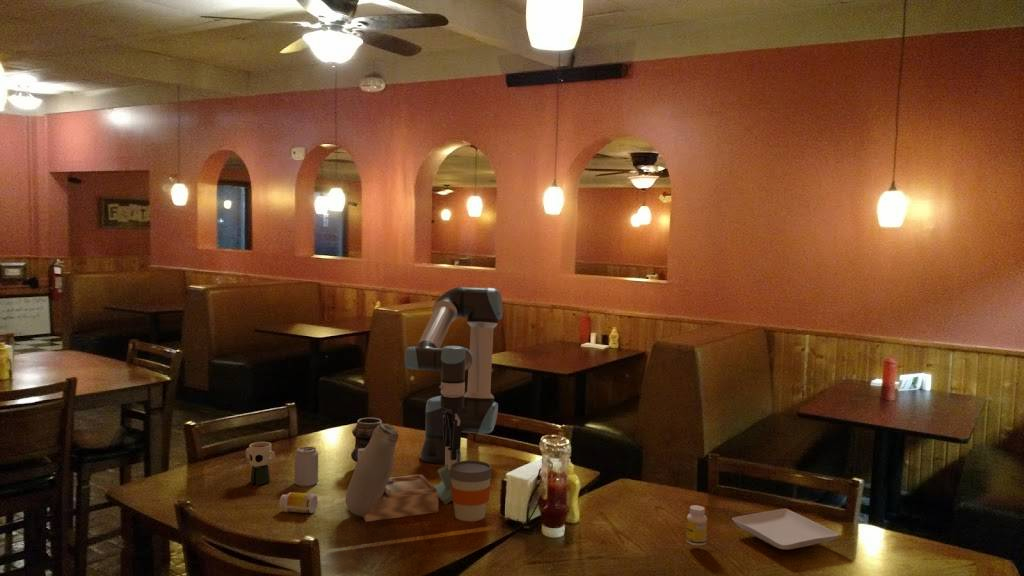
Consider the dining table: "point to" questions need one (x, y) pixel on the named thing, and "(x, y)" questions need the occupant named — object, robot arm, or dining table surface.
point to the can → (306, 466)
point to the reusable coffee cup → (470, 489)
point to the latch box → (405, 499)
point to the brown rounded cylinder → (372, 471)
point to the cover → (444, 485)
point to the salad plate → (785, 529)
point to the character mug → (260, 461)
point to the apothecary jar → (363, 434)
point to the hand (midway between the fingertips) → (451, 467)
